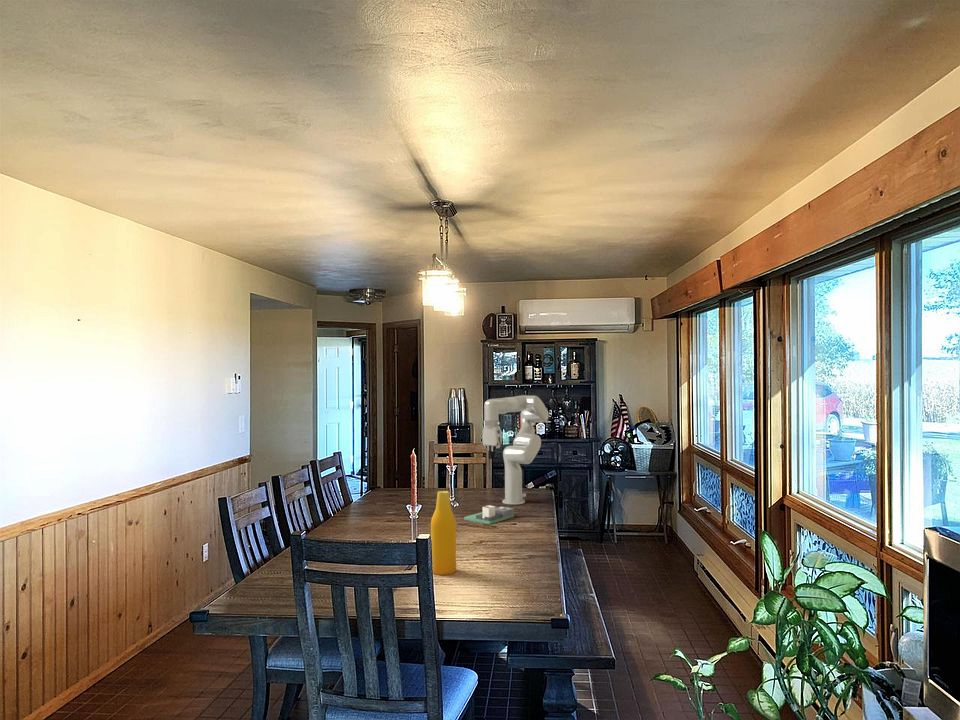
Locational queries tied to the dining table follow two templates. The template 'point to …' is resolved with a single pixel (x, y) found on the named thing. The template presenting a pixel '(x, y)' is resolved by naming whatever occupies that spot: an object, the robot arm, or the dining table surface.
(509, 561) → the dining table surface
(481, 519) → the header
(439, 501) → the beer bottle
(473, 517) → the board
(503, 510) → the fan
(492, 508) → the plug
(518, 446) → the robot arm
